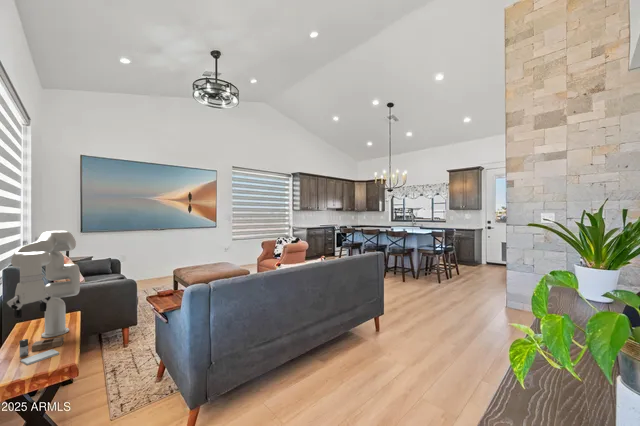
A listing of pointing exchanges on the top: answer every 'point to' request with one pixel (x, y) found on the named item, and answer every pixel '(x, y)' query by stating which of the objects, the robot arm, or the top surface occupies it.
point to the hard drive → (39, 357)
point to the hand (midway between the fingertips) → (31, 314)
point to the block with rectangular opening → (47, 343)
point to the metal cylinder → (23, 347)
